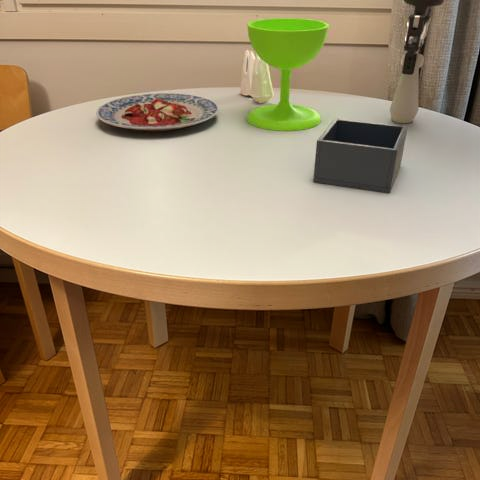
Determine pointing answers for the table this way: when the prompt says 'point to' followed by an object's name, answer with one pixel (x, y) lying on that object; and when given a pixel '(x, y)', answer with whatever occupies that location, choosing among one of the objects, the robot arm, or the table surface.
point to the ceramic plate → (157, 111)
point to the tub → (359, 154)
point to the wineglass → (286, 67)
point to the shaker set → (256, 78)
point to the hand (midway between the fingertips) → (410, 69)
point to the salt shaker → (407, 95)
